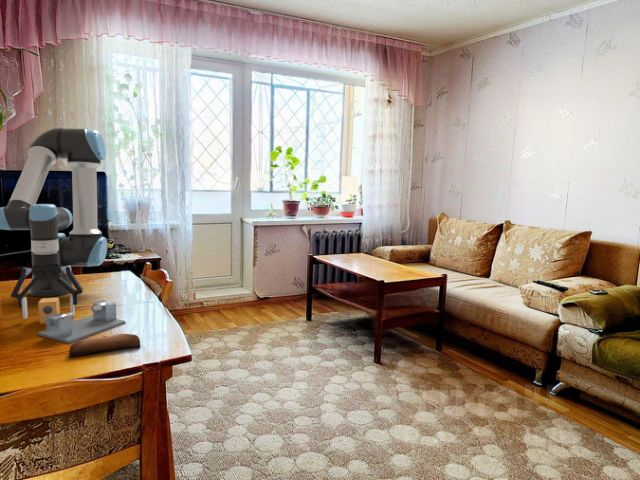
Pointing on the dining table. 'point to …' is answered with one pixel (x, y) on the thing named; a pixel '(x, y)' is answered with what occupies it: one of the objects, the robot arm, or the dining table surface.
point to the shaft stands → (62, 323)
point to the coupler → (48, 308)
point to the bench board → (85, 329)
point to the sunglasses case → (104, 344)
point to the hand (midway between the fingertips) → (49, 316)
